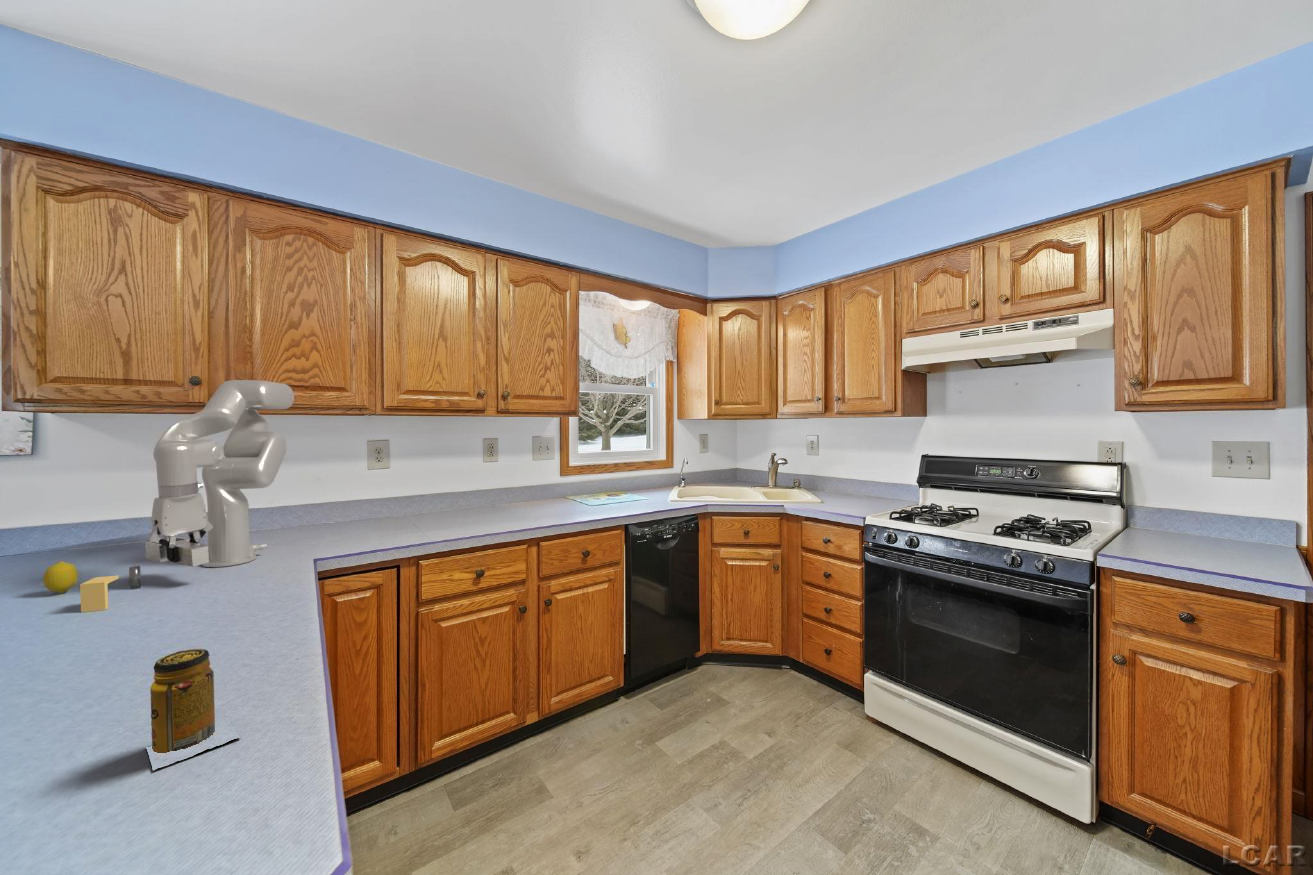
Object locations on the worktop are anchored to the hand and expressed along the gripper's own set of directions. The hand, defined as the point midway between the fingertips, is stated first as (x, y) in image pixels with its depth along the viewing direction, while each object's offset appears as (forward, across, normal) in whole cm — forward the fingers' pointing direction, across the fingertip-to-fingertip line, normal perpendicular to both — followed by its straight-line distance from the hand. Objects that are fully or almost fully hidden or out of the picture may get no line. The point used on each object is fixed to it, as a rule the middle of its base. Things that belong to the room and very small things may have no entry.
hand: (183, 558), depth 135 cm
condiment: (+1, +40, +85) cm, 94 cm away
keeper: (+5, +18, +4) cm, 19 cm away
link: (+1, 0, -1) cm, 1 cm away
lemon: (+6, +17, -17) cm, 25 cm away
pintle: (+6, +8, -6) cm, 11 cm away
